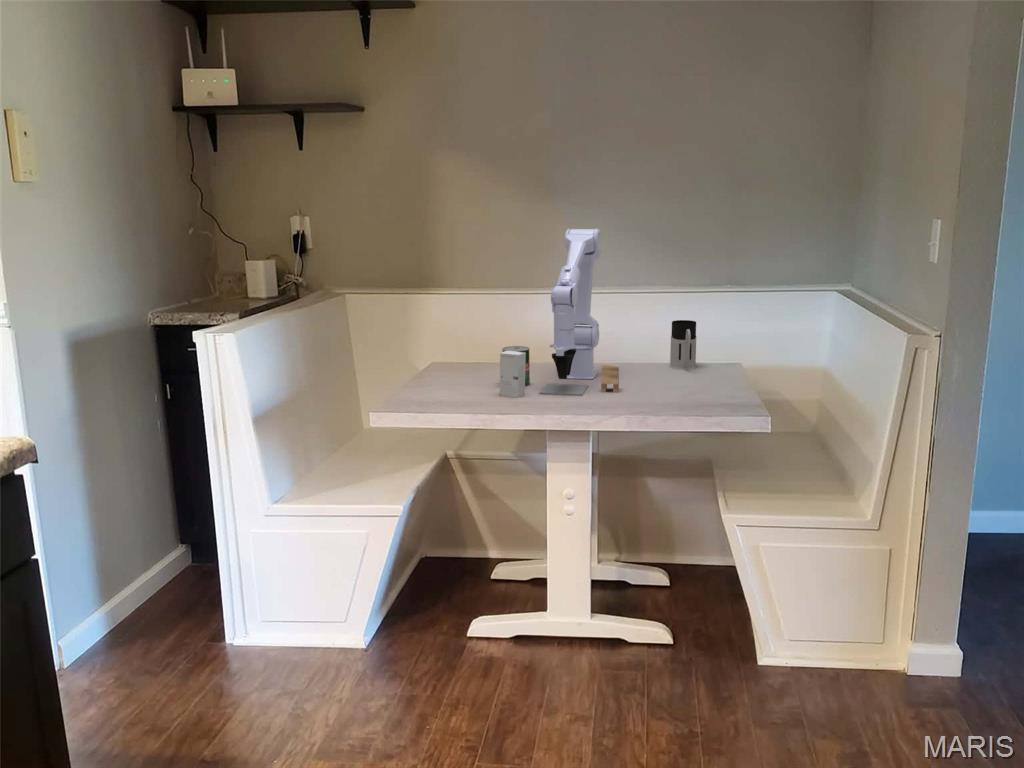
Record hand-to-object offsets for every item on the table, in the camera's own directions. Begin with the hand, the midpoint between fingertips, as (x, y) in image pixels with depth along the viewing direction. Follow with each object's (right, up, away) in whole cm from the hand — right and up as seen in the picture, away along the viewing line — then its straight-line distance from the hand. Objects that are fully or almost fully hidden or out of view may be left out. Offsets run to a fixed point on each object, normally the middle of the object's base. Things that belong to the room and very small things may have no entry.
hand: (564, 376), depth 239 cm
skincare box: (-14, -5, -4) cm, 16 cm away
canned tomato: (-13, -3, +9) cm, 16 cm away
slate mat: (0, -4, +1) cm, 4 cm away
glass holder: (+39, +2, +27) cm, 48 cm away
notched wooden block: (+13, -4, 0) cm, 13 cm away
